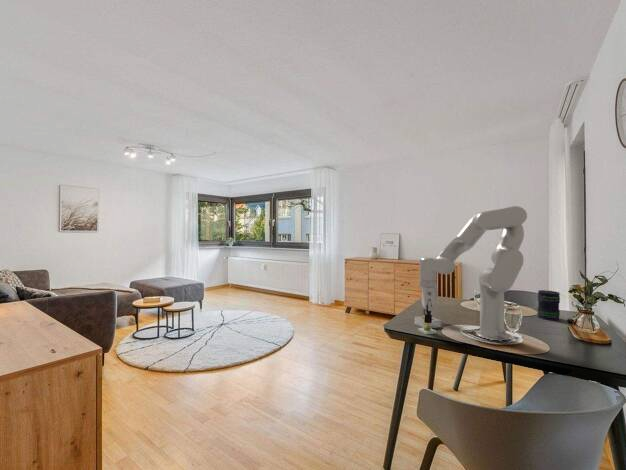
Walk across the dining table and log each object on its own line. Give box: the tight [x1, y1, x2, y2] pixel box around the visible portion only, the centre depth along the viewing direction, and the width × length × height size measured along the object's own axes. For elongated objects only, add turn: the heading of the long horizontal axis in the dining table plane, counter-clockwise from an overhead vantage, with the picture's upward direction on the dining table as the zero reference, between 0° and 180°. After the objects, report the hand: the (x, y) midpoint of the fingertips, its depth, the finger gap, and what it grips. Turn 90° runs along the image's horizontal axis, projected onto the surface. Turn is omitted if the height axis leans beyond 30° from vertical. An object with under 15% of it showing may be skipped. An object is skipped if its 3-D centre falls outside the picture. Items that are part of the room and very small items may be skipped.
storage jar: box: [537, 289, 561, 322], centre depth 171 cm, size 10×10×15 cm
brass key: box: [422, 307, 432, 330], centre depth 145 cm, size 4×4×10 cm
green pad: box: [417, 327, 437, 335], centre depth 145 cm, size 6×6×1 cm
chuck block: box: [414, 315, 442, 329], centre depth 157 cm, size 12×9×4 cm
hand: (427, 321), depth 145 cm, fingers open, 3 cm apart
